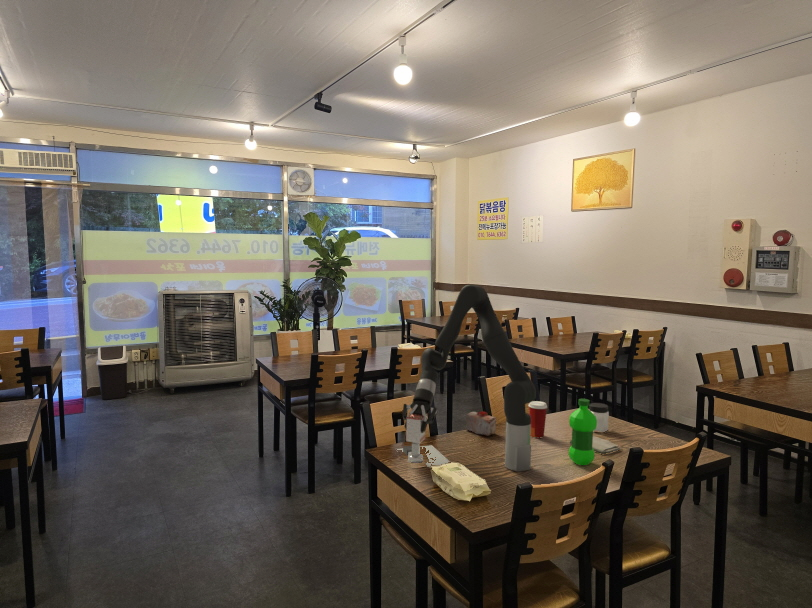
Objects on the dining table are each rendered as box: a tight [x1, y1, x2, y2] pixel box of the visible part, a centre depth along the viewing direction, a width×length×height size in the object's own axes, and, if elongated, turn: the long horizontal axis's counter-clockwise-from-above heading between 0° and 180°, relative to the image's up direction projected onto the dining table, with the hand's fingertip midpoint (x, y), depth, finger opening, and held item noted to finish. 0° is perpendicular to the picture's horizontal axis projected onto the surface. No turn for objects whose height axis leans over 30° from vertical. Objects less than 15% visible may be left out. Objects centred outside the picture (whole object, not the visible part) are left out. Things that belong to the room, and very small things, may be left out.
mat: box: [396, 444, 451, 468], centre depth 211 cm, size 22×16×1 cm
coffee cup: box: [528, 400, 548, 439], centre depth 238 cm, size 8×8×15 cm
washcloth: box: [569, 435, 621, 454], centre depth 226 cm, size 12×18×3 cm, turn 34°
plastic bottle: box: [568, 398, 597, 466], centre depth 206 cm, size 10×10×25 cm
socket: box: [405, 413, 426, 444], centre depth 205 cm, size 6×6×10 cm
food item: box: [465, 410, 498, 437], centre depth 242 cm, size 14×8×10 cm, turn 49°
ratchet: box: [402, 442, 423, 463], centre depth 209 cm, size 14×6×7 cm, turn 19°
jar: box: [588, 402, 610, 433], centre depth 248 cm, size 9×8×12 cm
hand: (414, 430), depth 203 cm, fingers closed on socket, 5 cm apart
